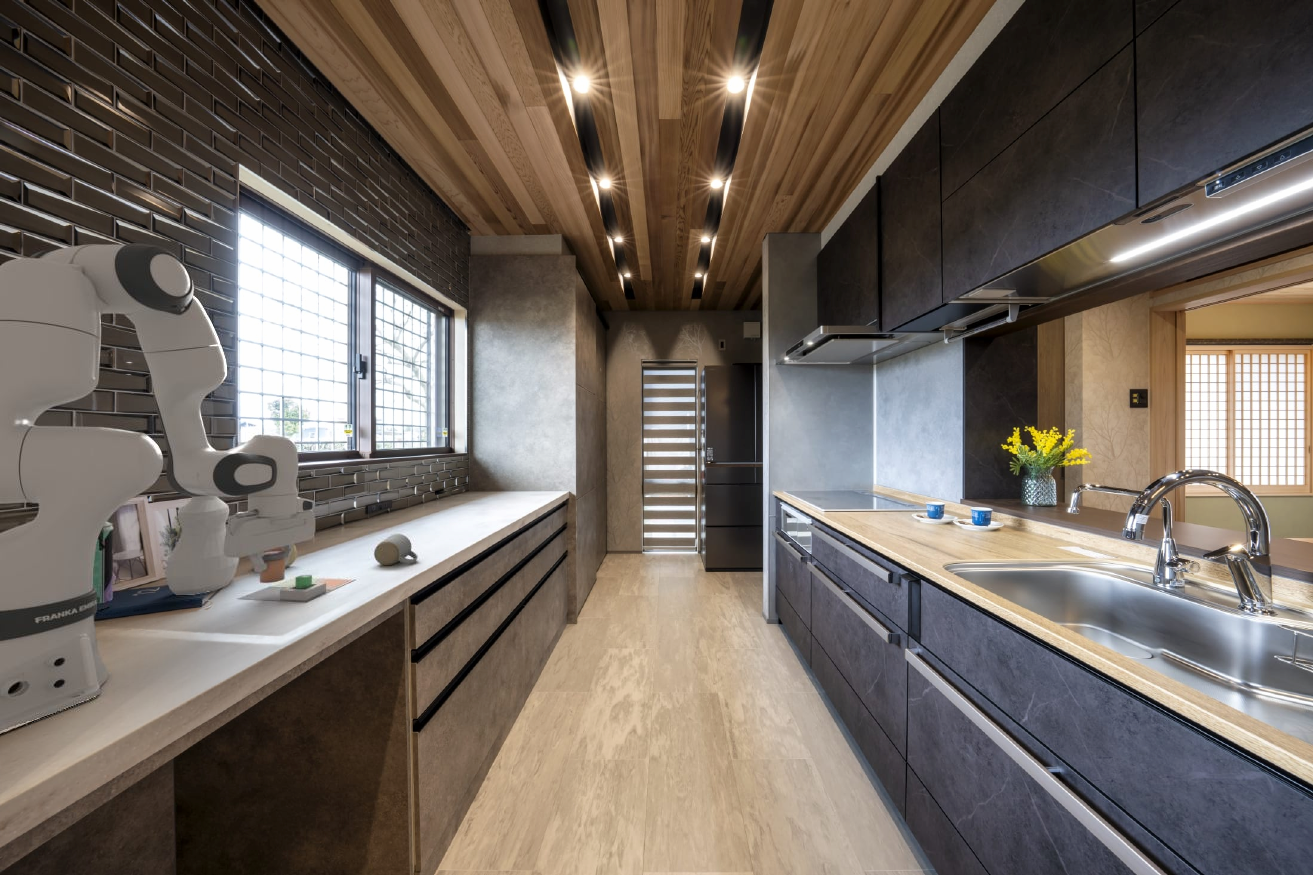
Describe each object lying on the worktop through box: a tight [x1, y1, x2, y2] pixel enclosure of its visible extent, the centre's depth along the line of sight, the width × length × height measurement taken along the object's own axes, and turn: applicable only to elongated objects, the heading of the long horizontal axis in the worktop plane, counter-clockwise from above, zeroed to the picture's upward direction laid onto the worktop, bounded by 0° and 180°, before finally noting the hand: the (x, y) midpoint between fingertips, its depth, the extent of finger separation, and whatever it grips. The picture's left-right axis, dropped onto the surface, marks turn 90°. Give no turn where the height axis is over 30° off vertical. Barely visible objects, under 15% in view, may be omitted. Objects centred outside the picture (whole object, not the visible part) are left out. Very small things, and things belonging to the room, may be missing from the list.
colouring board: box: [237, 576, 356, 604], centre depth 114 cm, size 16×16×3 cm
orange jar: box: [259, 551, 286, 584], centre depth 109 cm, size 5×5×6 cm
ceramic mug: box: [373, 533, 419, 566], centre depth 141 cm, size 11×8×8 cm
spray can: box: [93, 521, 114, 604], centre depth 101 cm, size 6×6×20 cm
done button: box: [295, 574, 313, 589], centre depth 109 cm, size 3×3×2 cm
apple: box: [264, 544, 298, 568], centre depth 131 cm, size 9×9×8 cm
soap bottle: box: [164, 496, 240, 596], centre depth 113 cm, size 17×12×29 cm
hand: (272, 567), depth 109 cm, fingers closed on orange jar, 4 cm apart
